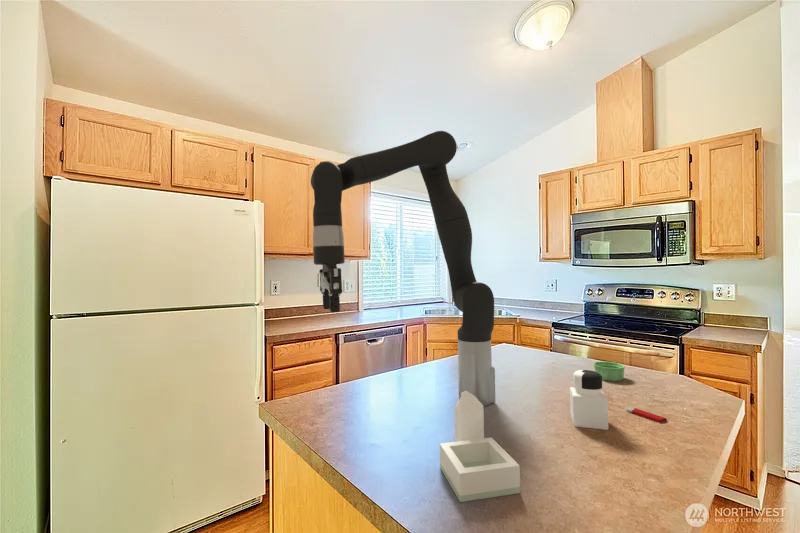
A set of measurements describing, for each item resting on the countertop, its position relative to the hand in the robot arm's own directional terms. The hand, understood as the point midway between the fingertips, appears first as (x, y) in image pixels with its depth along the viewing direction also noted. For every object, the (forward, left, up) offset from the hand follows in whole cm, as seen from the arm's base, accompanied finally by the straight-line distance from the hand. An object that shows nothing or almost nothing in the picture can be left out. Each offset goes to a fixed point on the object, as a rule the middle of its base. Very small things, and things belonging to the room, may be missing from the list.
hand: (331, 310), depth 91 cm
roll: (-27, +21, -28) cm, 44 cm away
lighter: (-75, +16, -28) cm, 82 cm away
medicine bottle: (-59, +16, -28) cm, 67 cm away
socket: (-24, +32, -27) cm, 49 cm away
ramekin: (-90, -13, -28) cm, 95 cm away
